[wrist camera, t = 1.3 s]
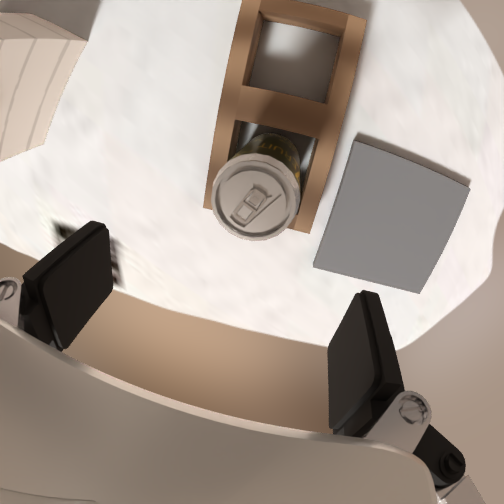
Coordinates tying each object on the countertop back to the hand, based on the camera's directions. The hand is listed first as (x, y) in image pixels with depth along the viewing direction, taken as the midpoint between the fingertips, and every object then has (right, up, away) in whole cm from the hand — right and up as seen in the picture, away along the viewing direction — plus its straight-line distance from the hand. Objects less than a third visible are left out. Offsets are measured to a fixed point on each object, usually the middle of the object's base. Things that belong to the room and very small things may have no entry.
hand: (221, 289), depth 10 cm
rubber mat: (+16, +4, +18) cm, 24 cm away
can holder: (+4, +14, +14) cm, 20 cm away
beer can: (+3, +10, +17) cm, 20 cm away
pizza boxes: (-32, +28, +13) cm, 44 cm away
